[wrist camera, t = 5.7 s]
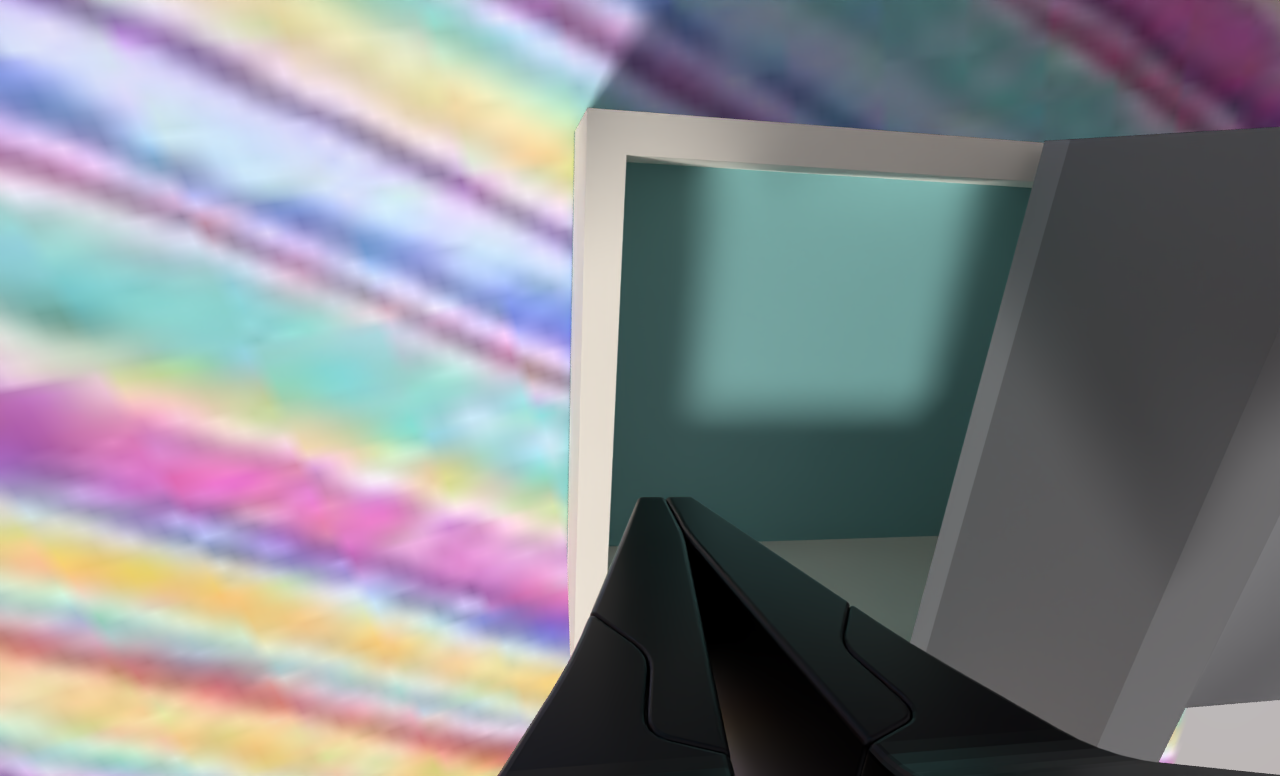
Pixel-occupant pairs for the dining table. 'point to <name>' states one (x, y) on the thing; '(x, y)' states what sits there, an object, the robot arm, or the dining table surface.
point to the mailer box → (782, 337)
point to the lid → (1125, 446)
